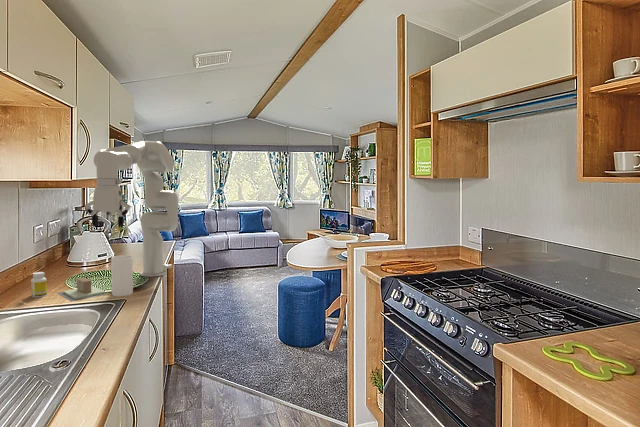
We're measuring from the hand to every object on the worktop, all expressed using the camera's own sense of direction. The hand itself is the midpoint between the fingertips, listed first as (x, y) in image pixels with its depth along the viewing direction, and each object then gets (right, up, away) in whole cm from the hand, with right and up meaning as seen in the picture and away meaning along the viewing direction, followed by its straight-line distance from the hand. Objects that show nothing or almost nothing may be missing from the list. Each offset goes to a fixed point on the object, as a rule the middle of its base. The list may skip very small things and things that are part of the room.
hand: (108, 226), depth 176 cm
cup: (0, -30, +13) cm, 32 cm away
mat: (-16, -29, +11) cm, 35 cm away
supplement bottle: (-31, -29, +6) cm, 44 cm away
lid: (-16, -29, +11) cm, 35 cm away
